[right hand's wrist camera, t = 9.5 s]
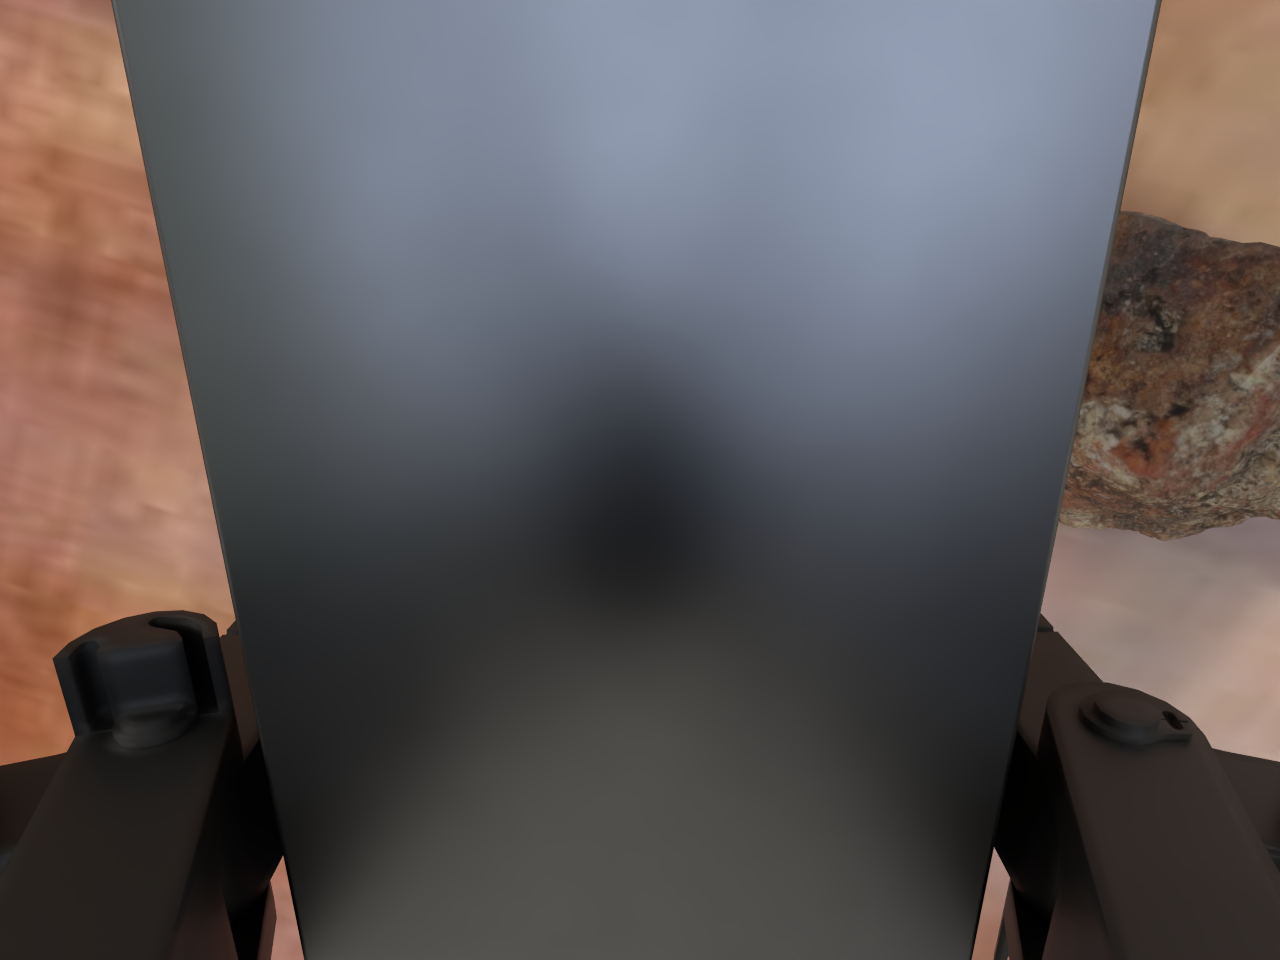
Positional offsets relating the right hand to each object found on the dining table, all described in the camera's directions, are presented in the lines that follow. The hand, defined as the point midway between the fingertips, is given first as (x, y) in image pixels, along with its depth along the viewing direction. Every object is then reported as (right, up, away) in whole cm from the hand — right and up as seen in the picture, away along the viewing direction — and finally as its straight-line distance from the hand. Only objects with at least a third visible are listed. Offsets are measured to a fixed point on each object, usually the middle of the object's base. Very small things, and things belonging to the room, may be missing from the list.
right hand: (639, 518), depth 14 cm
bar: (0, +8, -2) cm, 9 cm away
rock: (+16, +4, +13) cm, 22 cm away
